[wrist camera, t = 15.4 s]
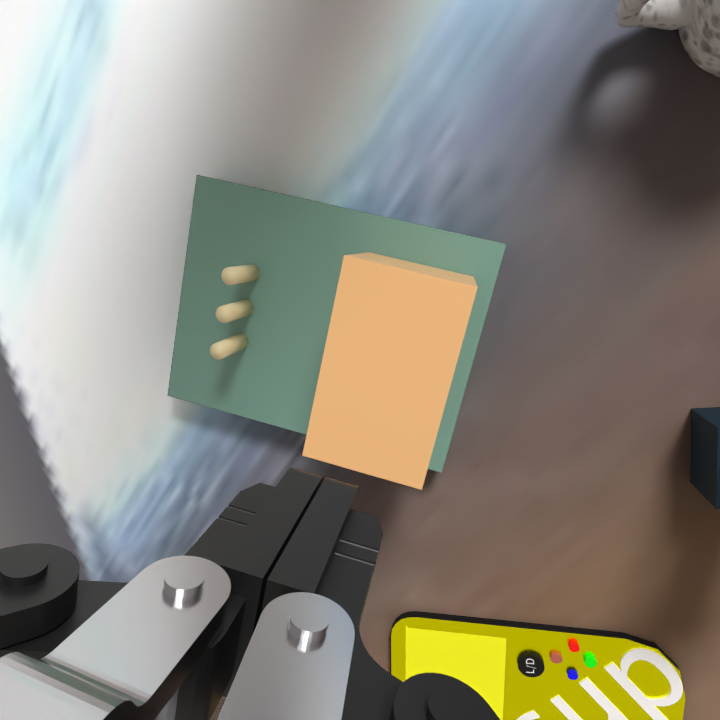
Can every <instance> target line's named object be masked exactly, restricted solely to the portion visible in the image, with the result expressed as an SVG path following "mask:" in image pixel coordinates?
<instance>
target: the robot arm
mask: <svg viewBox="0 0 720 720" xmlns="http://www.w3.org/2000/svg"><path fill="white" fill-rule="evenodd" d="M358 492H359V486H355V485H352V484H348V483H345V482H341V481H338V480H334V479H331V478H327V477H326V478H325V479H324V476H320V475H317V474H313V473H310V472H306V471H303V470H299V469H296V468H292V467H291V468H289V470H288V471H287V472H286V474H285V475H284V476H283V478H282V479H281V480H280V482H279V483H278V484H277V486H276V487H273V486H270V485H266V484H263V483H258V484H256V485H254V486H251V487H249V488H247V489H245V490H242V491H240V493H239V494H238V495H237V496H236V497H235V498H234V499H233V501H232V502H231V503H230V504H229V506H228V508H227V507H226V509H225V510H224V511H223V512H222V513H221V514H220V515H219V518H218V519H216V520H215V521H214V522H213V524H212V525H211V526H210V527H209V528H208V529H207V530H206V532H205V533H204V534H203V535H202V536H201V537H200V538H199V540H198V541H197V542H196V543H195V544H194V545H193V546H192V548H191V549H190V550H189V551H188V552H187V553H186V554H185V556H174V557H169V558H165V559H161V560H159V561H156V562H154V563H152V564H151V565H149V566H147V567H146V568H145V569H144V570H142V571H141V572H140V573H139V574H138V575H137V576H136V577H135V578H133V579H132V580H131V581H130V582H128V583H114V582H99V581H82V580H79V562H78V560H77V558H76V557H75V556H74V555H73V554H72V553H71V552H70V551H68V550H66V549H64V548H61V547H59V546H55V545H50V544H24V545H18V546H12V547H8V548H3V549H0V720H209V719H210V718H211V716H212V714H213V712H214V710H215V708H216V706H217V704H218V702H219V701H220V699H221V697H222V696H225V697H227V698H226V700H225V703H224V705H223V707H222V710H221V712H220V715H219V717H218V719H217V720H500V719H499V717H498V716H497V715H496V713H495V712H494V711H493V709H492V708H491V707H490V705H489V704H488V703H487V702H486V701H485V699H484V698H483V697H482V696H481V695H480V694H479V693H478V692H477V691H475V690H474V689H473V688H471V687H470V686H469V685H467V684H466V683H464V682H462V681H460V680H458V679H456V678H454V677H451V676H448V675H445V674H440V673H421V674H417V675H414V676H411V677H410V678H408V679H407V680H405V681H404V682H402V681H401V680H399V679H398V678H396V677H395V676H393V675H392V674H390V673H389V672H387V671H386V670H385V669H383V668H382V667H381V666H380V665H379V664H377V663H376V662H375V661H374V660H373V658H372V657H371V656H370V655H369V653H368V652H367V650H366V649H365V647H364V645H363V642H362V640H361V637H360V632H359V625H360V622H361V618H362V614H363V610H364V606H365V603H366V599H367V595H368V591H369V587H370V583H371V579H372V575H373V571H374V567H375V563H376V560H377V556H378V552H379V548H380V544H381V540H382V536H383V532H382V529H381V527H380V524H379V521H378V519H377V517H376V516H372V515H369V514H365V513H362V512H359V511H355V506H356V501H357V497H358Z"/></svg>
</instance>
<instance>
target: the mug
mask: <svg viewBox="0 0 720 720" xmlns="http://www.w3.org/2000/svg"><path fill="white" fill-rule="evenodd" d="M615 15H616V18H617V20H618V23H619V25H620V26H621V27H653V28H659V29H664V30H676V29H678V31H679V36H680V39H681V41H682V44H683V47H684V49H685V51H686V52H687V54H688V55H689V56H690V58H691V59H692V60H693V61H694V62H695V63H696V64H697V65H698V66H699V67H700V68H702V69H703V70H704V71H706V72H708V73H710V74H712V75H714V76H716V77H720V0H620V1H619V4H618V6H617V9H616V12H615Z"/></svg>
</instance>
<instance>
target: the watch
mask: <svg viewBox="0 0 720 720" xmlns="http://www.w3.org/2000/svg"><path fill="white" fill-rule="evenodd" d="M690 482H691V483H692V484H693V485H694V486H695V487H696V488H697V489H698V491H699V492H700V493H701V494H702V495H703V496H704V497H705V498H706V499H707V500H708V501H709V502H710V503H711V504H712V505H713V506H714V507H715V508H716V509H720V407H715V408H695V409H691V479H690Z"/></svg>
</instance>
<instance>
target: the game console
mask: <svg viewBox="0 0 720 720" xmlns="http://www.w3.org/2000/svg"><path fill="white" fill-rule="evenodd" d="M421 673H440V674H445V675H448V676H451V677H454V678H456V679H458V680H460V681H462V682H464V683H466V684H467V685H469V686H470V687H471V688H473V689H474V690H475V691H477V692H478V693H479V694H480V695H481V696H482V697H483V698H484V699H485V701H486V702H487V703H488V704H489V705H490V707H491V708H492V709H493V711H494V712H495V713H496V715H497V716H498V717H499V719H500V720H683V712H684V705H685V694H684V689H683V684H682V680H681V675H680V671H679V669H678V667H677V665H676V664H675V663H674V662H673V661H672V660H671V659H670V658H669V657H668V656H667V655H666V654H665V653H664V652H663V651H662V650H661V649H660V648H659V647H658V646H657V645H656V644H655V643H653V642H650V641H647V640H644V639H641V638H638V637H635V636H632V635H629V634H626V633H622V632H613V631H603V630H593V629H583V628H574V627H564V626H554V625H544V624H535V623H525V622H515V621H505V620H496V619H486V618H476V617H466V616H456V615H447V614H437V613H427V612H417V611H413V612H406V613H403V614H401V615H400V616H399V617H397V618H396V620H395V622H394V623H393V627H392V633H391V674H392V675H393V676H395V677H396V678H398V679H399V680H401V681H402V682H404V681H405V680H407V679H408V678H410V677H411V676H414V675H417V674H421Z"/></svg>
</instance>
